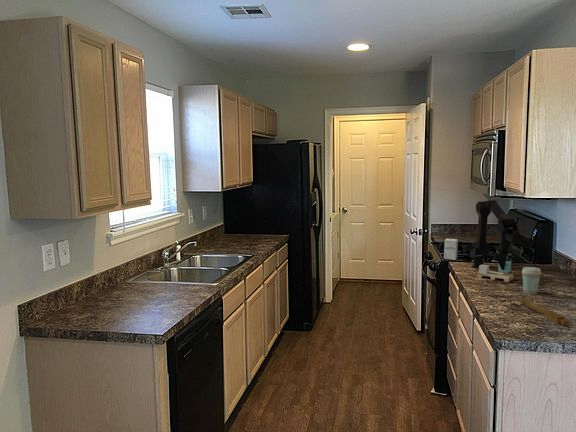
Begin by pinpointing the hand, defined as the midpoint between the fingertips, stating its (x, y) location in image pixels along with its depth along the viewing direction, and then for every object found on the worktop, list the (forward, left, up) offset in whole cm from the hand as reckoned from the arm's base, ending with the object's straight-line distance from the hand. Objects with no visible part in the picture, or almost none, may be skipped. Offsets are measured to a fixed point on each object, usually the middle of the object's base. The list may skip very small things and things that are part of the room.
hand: (504, 269), depth 258 cm
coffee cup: (+20, +18, -5) cm, 27 cm away
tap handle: (+50, +31, -6) cm, 59 cm away
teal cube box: (0, 0, -1) cm, 1 cm away
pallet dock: (+2, -4, -5) cm, 7 cm away
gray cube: (+4, -9, -3) cm, 11 cm away
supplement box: (-30, -42, -6) cm, 52 cm away
